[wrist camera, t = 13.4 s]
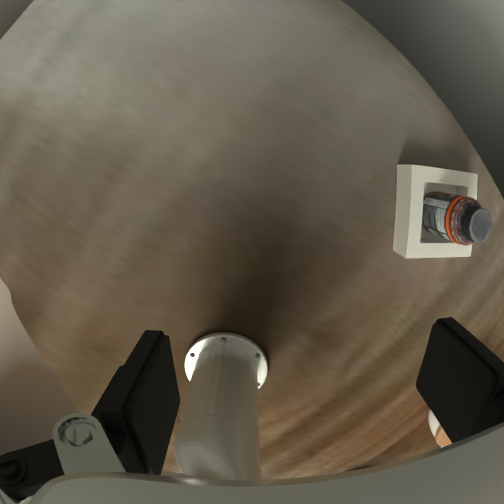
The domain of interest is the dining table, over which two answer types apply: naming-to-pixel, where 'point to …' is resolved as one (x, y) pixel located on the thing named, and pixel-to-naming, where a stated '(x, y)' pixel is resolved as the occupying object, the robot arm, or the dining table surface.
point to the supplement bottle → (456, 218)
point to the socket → (411, 210)
